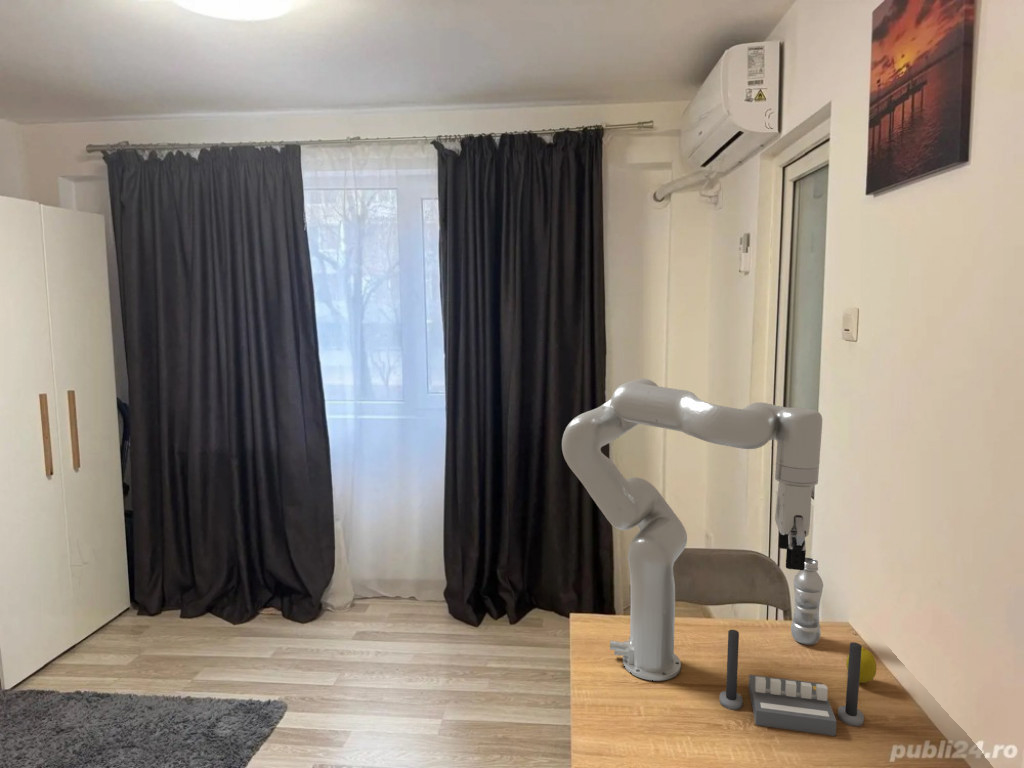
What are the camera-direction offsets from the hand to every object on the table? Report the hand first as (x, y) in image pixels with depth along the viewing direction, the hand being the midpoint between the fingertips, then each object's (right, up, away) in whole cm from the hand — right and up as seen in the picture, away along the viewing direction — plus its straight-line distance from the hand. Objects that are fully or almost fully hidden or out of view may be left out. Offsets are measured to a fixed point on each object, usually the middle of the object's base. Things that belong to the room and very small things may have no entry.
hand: (790, 558), depth 125 cm
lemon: (+19, -29, +11) cm, 37 cm away
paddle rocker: (+1, -27, +2) cm, 27 cm away
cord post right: (+11, -31, 0) cm, 33 cm away
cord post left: (-10, -30, +5) cm, 32 cm away
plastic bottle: (+15, -27, +27) cm, 41 cm away
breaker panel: (+1, -31, +2) cm, 31 cm away
